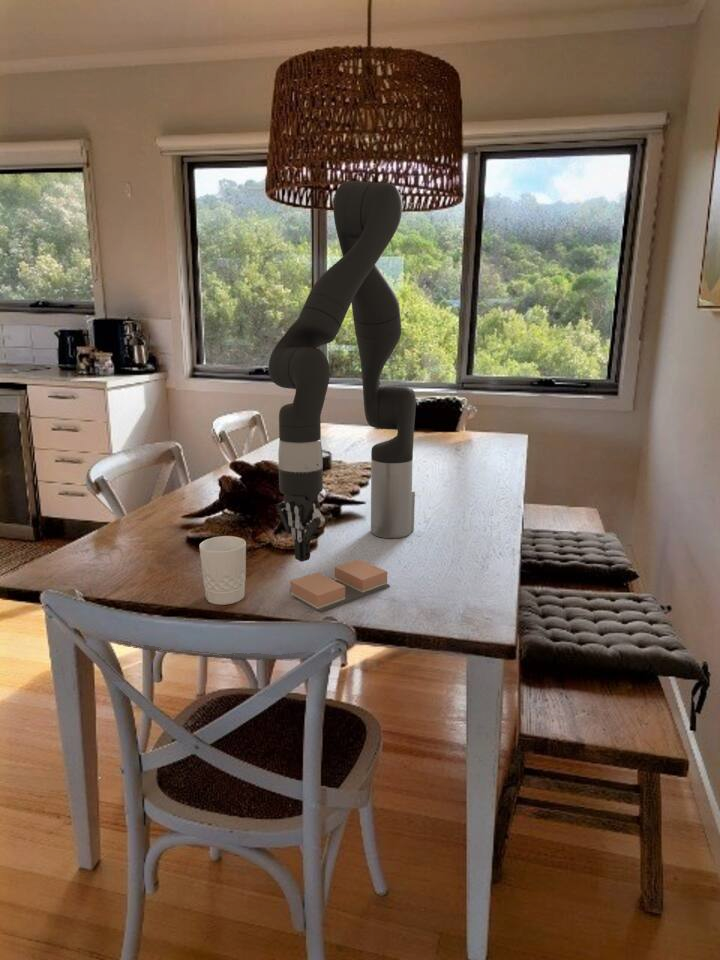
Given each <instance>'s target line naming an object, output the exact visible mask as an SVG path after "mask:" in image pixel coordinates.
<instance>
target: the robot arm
mask: <svg viewBox="0 0 720 960" xmlns="http://www.w3.org/2000/svg"><path fill="white" fill-rule="evenodd" d="M333 199H334V200H333V206H332V207H333V218H334V219H333V220H334V226H335V230H336V234H337V240H338V243H339V247H340V251H341V255H342V257H341V258H340V259H339V260H338V261H336V262H335V263H334V264H333V265H332V266H330V268H328V269H327V270H326V271H325V272H324V273H322V275H320V277H319V278H318V279H317V281H316V282H315V283H314V285H313V286H312V288H311V290H310V291H309V294H308V296H307V298H306V300H305V302H304V305H303V306H302V309H301V311H300V313H299V316H298V317H297V319H296V320H295V321H294V322H293V323H292V325H290V327H289V328H288V329H287V331H286V332H285V333H284V334H283V336H282V337H281V338H280V339H279V341H278V342H277V344H276V345H275V346H274V348H273V350H272V352H271V354H270V357H269V360H268V374H269V377H270V379H271V382H273V383H274V384H275V385H276V386H278V387H280V388H284V389H288V390H289V389H291V390H295V394H294V398H293V401H292V402H291V403H287V404H284V405H283V406H281V407H280V409H279V412H278V432H279V433H278V435H279V436H278V437H279V443H278V444H279V445H278V460H277V461H278V486H279V487H278V488H279V491H280V493H281V494H283V501H281V502H279V503H277V504H276V510H277V512H278V514H279V517H280V520H281V521H282V524H283V526H284V529H285V531H286V534H287V535H290V534H291V539H292V540H294V558H295V560H297V561H299V562H301V563H302V562H306V561H308V560H310V558H311V541H314V540H317V539H318V538H319V537H320V535H321V534H322V532H323V531H324V529H325V527H326V525H328V522H329V519H330V518H329V516H328V515H323V514H322V513H321V511H320V508H321V507H320V502H319V494H320V493H321V492H323V489H324V484H323V483H324V479H323V477H324V476H323V474H324V471H323V470H324V469H323V465H324V463H323V460H324V459H323V447H322V439H321V438H322V437H321V435H322V434H321V433H322V431H321V427H322V426H321V415H322V412H323V411H322V410H323V407H324V403H325V400H326V395H327V391H328V388H329V383H330V378H331V376H330V375H331V367H330V364H329V360H328V357H327V356H326V354H325V353H324V352H323V350H321V349H320V348H319V347H321V346H324V345H327V344H330V343H332V342H333V341H334V340H335V339H336V337H337V336H338V333H339V331H340V329H341V327H342V324H343V322H344V320H345V317H346V316H347V314H348V311H349V309H350V307H351V309H352V318H353V325H354V331H355V338H356V342H357V349H358V353H359V354H358V355H359V361H360V368H361V369H360V370H361V378H362V379H361V381H362V393H363V394H362V395H363V396H362V397H363V407H364V408H363V409H364V416H365V420H366V422H367V425H369V426H370V428H371V427H372V428H375V429H392V430H397V434H396V436H394V437H393V438H390V439H388V440H385V441H381V442H379V443H376V444H374V445H372V447H371V452H370V453H371V457H370V459H371V460H370V461H371V462H370V463H371V464H370V466H371V467H370V473H371V474H370V533H371V534H372V535H373V536H376V537H379V538H382V539H384V538H385V539H400V538H405V537H407V536H409V535H410V534H411V533H412V532H414V531H415V506H416V505H415V501H416V500H415V499H416V492H415V490H413V461H414V460H413V458H414V455H413V453H414V437H415V423H416V422H415V421H416V411H417V410H416V408H417V401H416V400H417V398H416V394H415V391H414V389H413V388H412V387H409V386H393V385H391V386H389V385H382V384H381V378H380V377H381V374H382V372H383V370H384V367H385V366H386V363H387V362H388V360H389V358H390V357H391V356H392V353H393V352H394V351H395V348H396V347H397V345H398V344H399V342H400V339H401V335H402V320H401V309H400V302H399V300H398V297H397V294H396V293H395V291H394V289H393V287H392V286H391V284H390V283H389V281H388V280H387V279H386V277H385V276H384V274H383V273H382V271H381V270H380V268H379V267H378V265H377V262H378V261H379V259H380V258H381V256H382V254H383V253H384V251H385V250H386V248H387V247H388V246H389V244H390V242H391V240H392V239H393V237H394V236H395V234H396V232H397V230H398V228H399V225H400V222H401V220H402V215H403V200H402V196H401V193H400V190H399V189H398V188H397V187H396V186H395V185H393V184H392V183H387V182H378V181H377V182H376V181H375V182H374V181H361V180H360V181H358V180H357V181H356V180H355V181H354V180H353V181H352V180H351V181H344V182H342V183H341V184H339V185H338V187H337V189H336V190H335V193H334V196H333ZM413 530H414V531H413Z"/></svg>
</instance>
